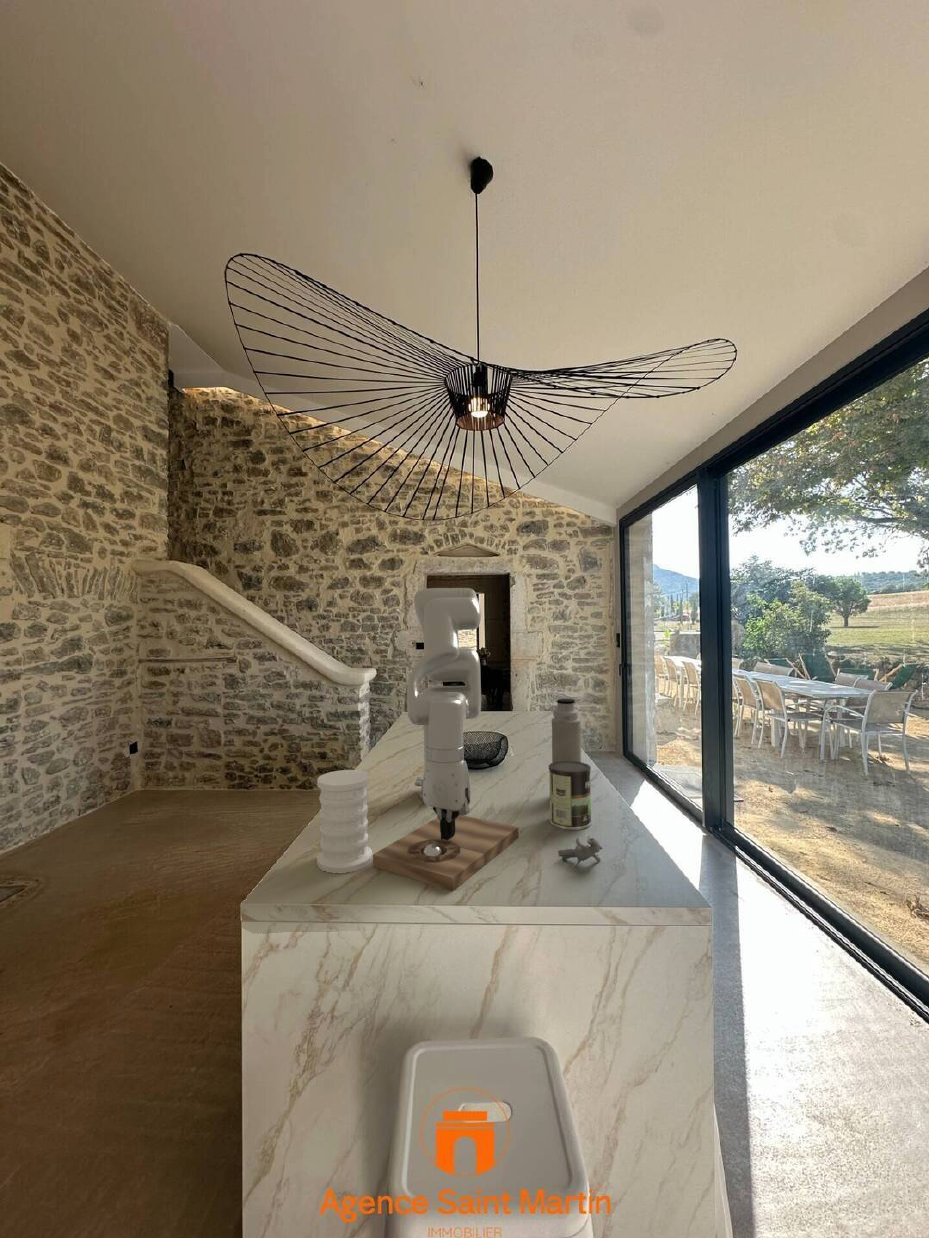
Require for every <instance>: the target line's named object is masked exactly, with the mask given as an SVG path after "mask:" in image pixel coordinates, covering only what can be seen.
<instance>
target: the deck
mask: <svg viewBox="0 0 929 1238" xmlns="http://www.w3.org/2000/svg"><path fill="white" fill-rule="evenodd" d="M517 839H519V827H518V826H514V825H512V824H511V825H510V824H506V823H505V824H504V823H501V822H497V821H491V820H487V819H482V818H478V817H473V816H469V815H459V816H458V817H457V818H456V819H455V835H454V836H453V837H452V838H450V839H449V840H445V839H441V833H440V820H438V818H437V817H435V818H434V819H432V820H430V821H428V822H427V823H425V824H423V825H421V826H419V827H418V828H416V829H414V830H412V831H411V832H409V833H408V834H406V835H404V836H402V837H400V838H398V839H397V840H395V841H394V842H392V843H390V844H389V845H387V846H385V847H384V848H381V849H379V850H378V851H376V852H375V853H372V867H374V868H377V869H380V870H384V871H387V872H390V873H394V874H397V875H399V876H402V877H403V876H404V877H406V878H409V879H412V880H416V881H419V882H423V883H426V884H430V885H431V886H436V887H439V888H441V889H445V890H448V891H451V892H453V891H455V890H456V889H457V888H459V887H460V886H462V884H463V883H465V882H467V880H469V879H470V878H471V877H472V876H473V875H475V874H476V873H478V871H480V869H481V870H482V868H483V867H484V866H486V865H487V864H489V863H490V862H491V861H492V860H493V859H494V858H496V856H498V855H499V854H501V853H502V852H503V851H504V850H506V848H508V847H509V846H511V844H513V843H514V842H516V841H517ZM430 844H435V845H437V846H439V847H440V849H441V851H442V855H440V856H426V855H423V851H424V849H425V847H426V846H428V845H430Z"/></svg>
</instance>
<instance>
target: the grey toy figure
mask: <svg viewBox="0 0 929 1238" xmlns="http://www.w3.org/2000/svg"><path fill="white" fill-rule="evenodd" d="M586 840H587V841H586V842H587V845H586V844H583V843H581V842H580V839H579V837H577V839H576V840H575V844H576V846H575V847H574V848H566V849H558V850H557V854H558V857H561V859H562V860H563V861H564V860H565V861H566V860H568V859H570V858H571V859H573V858H574V859H575V858H577V863H576V865H575V867H574V868H577V866H579V864H580V863H581V862H584V861H587V860H588V859H590V858H594V859H595V861H597V862H601V858H600V857H599V855H598V854H599V852H600V851H601V850H603V847H602V846H601V845H600V842H599V841H598V840H596V838H595V837H590V835H588V837H587V839H586ZM589 845H590V846H589Z"/></svg>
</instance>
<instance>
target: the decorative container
mask: <svg viewBox="0 0 929 1238" xmlns="http://www.w3.org/2000/svg"><path fill="white" fill-rule="evenodd" d="M316 781H317V784H316V785H317V788H319V789H320V793H319V798H318V799H319V803H320V806H321V808H320V810H319V816H320V820H321V823H320V826H319V830H320V834H321V839H320V843H319V845H320V848H321V852H319V853H318V854H317V857H316V865H318V866H317V868H318V869H319V868H320V869H321V870H320V869H319V870H320V871H322V870H323V871H322V872H324V871H328V872H333V873H332V874H335V873H339V872H340V873H341V874H347V873H346V872H350V873H353V872H352V871H354V872H357V871H360V870H362V869H364V868H366V867H367V866H369V865H370V864H371V863H372V862H373V850H372V849H371V848H370V846H368V844H369V833H368V827H369V820H368V818H367V815H368V813H369V806H368V803H367V800H368V797H369V796H368V795H369V793H368V790H367V786H368V784H369V783H370V774H369V773H368V772H367V771H363V770H358V769H343V770H335V771H330V772H327V773H323V774H322V775H319V776H318V778H317V779H316ZM328 872H327V873H328ZM334 872H335V873H334ZM344 872H345V873H344Z"/></svg>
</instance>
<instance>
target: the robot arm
mask: <svg viewBox="0 0 929 1238" xmlns="http://www.w3.org/2000/svg"><path fill="white" fill-rule="evenodd" d="M413 605H414V610H415V613H416V616H417V619H418V621H419V623H420V626H421V628H422V632H423V643H424V645H423V647H424V650H423V652H424V654H423V655H422V656H421V658H420V659H419V660H418V661H417V662H416V663H415V665H413V668H412V669H411V671H410V673H409V677H408V680H407V687H406V688H407V689H406V690H407V691H406V698H407V699H406V701H407V702H406V707H407V708H406V710H407V711H406V712H407V718H408V720H409V721H410V722H411V724H413V725H414V726H423V752H424V753H423V756H424V757H423V758H424V759H423V760H424V761H423V763H424V765H423V766H424V771H423V777H421V776H417V777H416V780H415V782H414V785H415V786H416V787H421V790H420V791H419V799H421V801H422V802H423V804H425V806H426V807H427V808H428V809H430V810H433V811H434V813H435V814H436V816H437V817H436V818H438V820H440V833H441V839H445V840H449V839H450V838H452V837H453V836H454V835H455V819H456V818H457V817H458V816H459V815H465V816H468V814H469V813H470V807H469V805H470V804H471V783H470V775H469V769H468V765H467V761H466V760H465V759H464V757H465V756H464V755H465V754H464V753H465V752H464V722H465V721H466V720H472V719H476V718H478V717H480V714H481V712H482V711H481V710H482V688H481V687H482V685H481V662H480V656H479V654H478V652H477V651H476V650H475V649H474V648H469V647H468V648H467V647H463V648H462V647H460V643H459V642H460V641H459V631H466V630H468V631H470V630H472V631H473V630H477V629H478V628H479V626H480V624H481V619H482V612H481V605H480V601H479V599H478V597H477V594H476V591H475V590H474V589H473V588H469V587H432V588H430V587H429V588H423V589H421V590H420V589H419V590H418V591H416V593H415V594H414V597H413ZM425 677H426V678H427V679H428V680H429V681H432V682H444V683H447V682H462V683H464V684H465V685H442V686H441V685H440V686H439V685H437V686H436V685H435V686H432V687H431V686H430V687H428V688H425V689H424V690H423V691H422V692H420V690H419V689H420V688H419V687H420V683H421V681H422V679H424V678H425Z"/></svg>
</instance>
